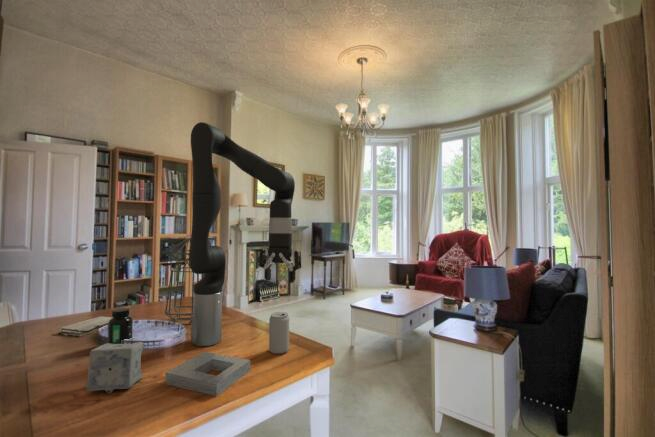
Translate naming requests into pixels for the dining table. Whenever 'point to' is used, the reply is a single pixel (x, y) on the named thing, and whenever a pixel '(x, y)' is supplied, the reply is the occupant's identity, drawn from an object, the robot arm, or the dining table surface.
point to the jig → (196, 368)
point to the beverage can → (279, 332)
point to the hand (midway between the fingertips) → (279, 281)
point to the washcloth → (85, 326)
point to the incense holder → (114, 366)
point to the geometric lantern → (178, 279)
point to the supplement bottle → (120, 326)
